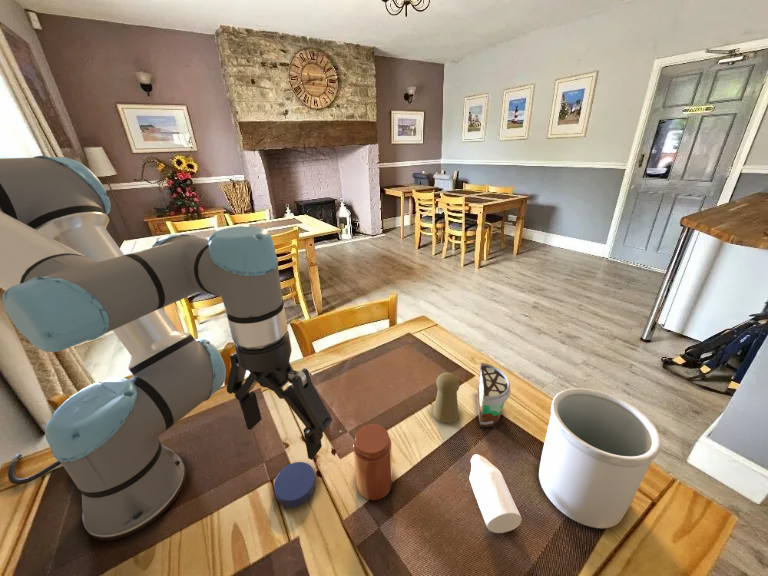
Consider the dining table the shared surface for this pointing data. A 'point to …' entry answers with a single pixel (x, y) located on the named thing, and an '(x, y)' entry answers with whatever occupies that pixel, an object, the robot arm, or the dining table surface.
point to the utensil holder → (595, 455)
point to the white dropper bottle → (493, 496)
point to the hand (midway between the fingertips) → (283, 437)
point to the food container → (491, 394)
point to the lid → (295, 484)
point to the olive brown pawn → (446, 398)
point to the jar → (373, 461)
